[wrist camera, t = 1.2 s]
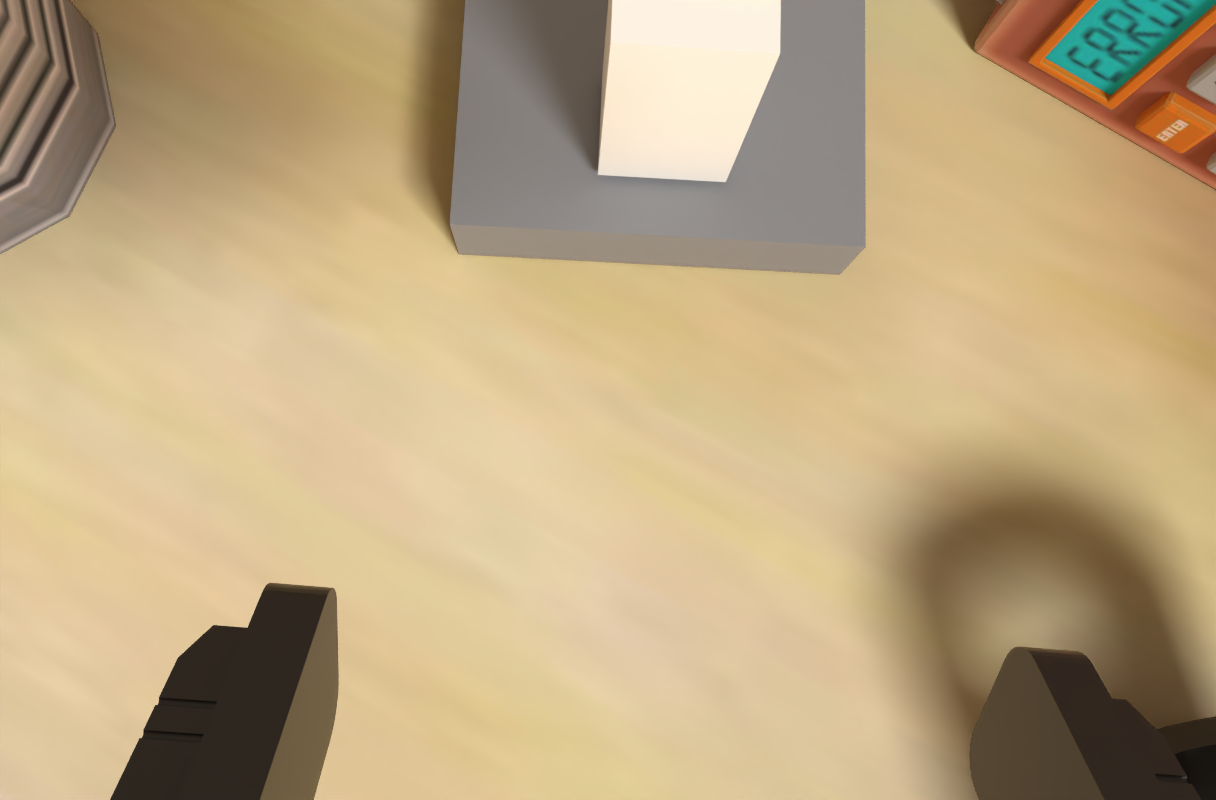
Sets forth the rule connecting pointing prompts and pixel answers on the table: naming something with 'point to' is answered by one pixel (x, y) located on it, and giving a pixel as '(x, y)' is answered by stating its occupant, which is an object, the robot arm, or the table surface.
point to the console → (652, 207)
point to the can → (47, 114)
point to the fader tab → (683, 84)
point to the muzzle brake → (1195, 753)
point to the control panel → (1120, 67)
